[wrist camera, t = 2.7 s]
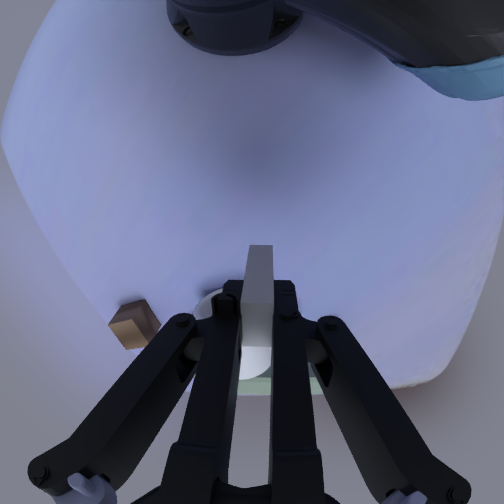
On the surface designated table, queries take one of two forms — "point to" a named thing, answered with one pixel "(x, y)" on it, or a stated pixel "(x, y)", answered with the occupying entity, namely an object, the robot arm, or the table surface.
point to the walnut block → (135, 324)
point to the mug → (252, 357)
